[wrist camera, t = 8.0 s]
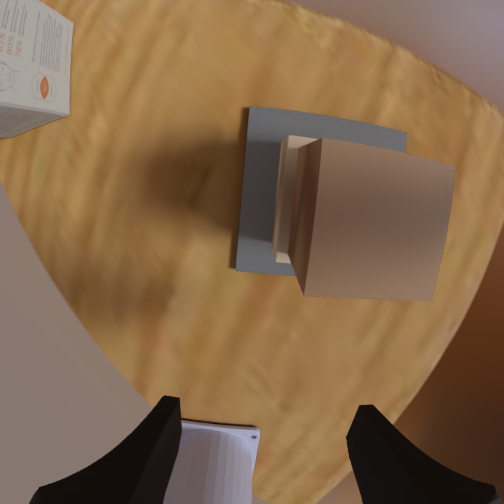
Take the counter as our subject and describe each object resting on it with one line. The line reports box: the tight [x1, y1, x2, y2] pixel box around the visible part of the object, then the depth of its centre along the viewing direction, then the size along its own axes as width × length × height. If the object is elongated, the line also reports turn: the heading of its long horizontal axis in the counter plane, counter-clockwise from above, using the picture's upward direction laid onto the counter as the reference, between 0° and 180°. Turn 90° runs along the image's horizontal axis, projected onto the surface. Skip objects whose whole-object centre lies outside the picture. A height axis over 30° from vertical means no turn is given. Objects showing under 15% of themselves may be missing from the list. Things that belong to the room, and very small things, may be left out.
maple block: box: [271, 135, 318, 263], centre depth 16 cm, size 6×6×4 cm
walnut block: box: [288, 138, 456, 301], centre depth 12 cm, size 5×5×5 cm
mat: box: [236, 107, 407, 276], centre depth 18 cm, size 10×10×1 cm
